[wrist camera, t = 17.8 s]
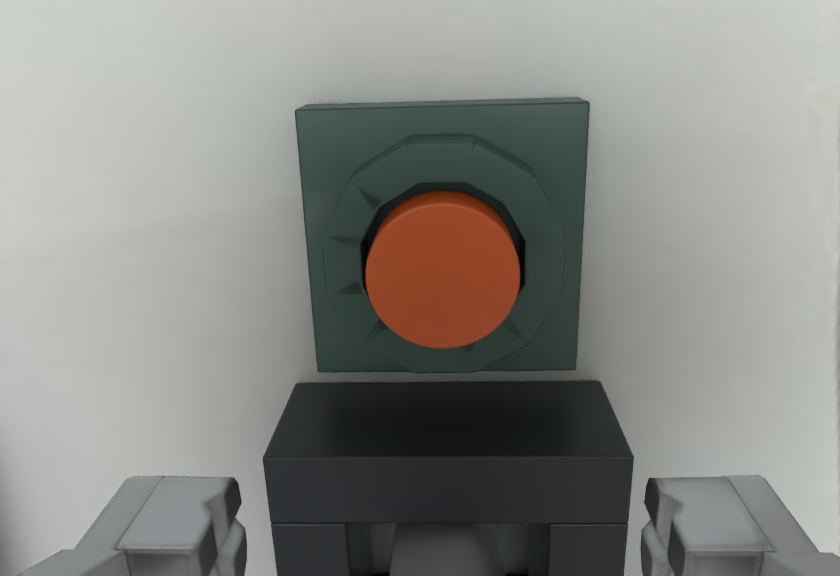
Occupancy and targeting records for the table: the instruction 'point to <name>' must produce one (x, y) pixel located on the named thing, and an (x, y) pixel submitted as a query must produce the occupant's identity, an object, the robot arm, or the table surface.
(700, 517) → the robot arm
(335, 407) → the grey square frame
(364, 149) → the switch box
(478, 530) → the power adapter
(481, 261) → the power button
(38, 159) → the table surface
